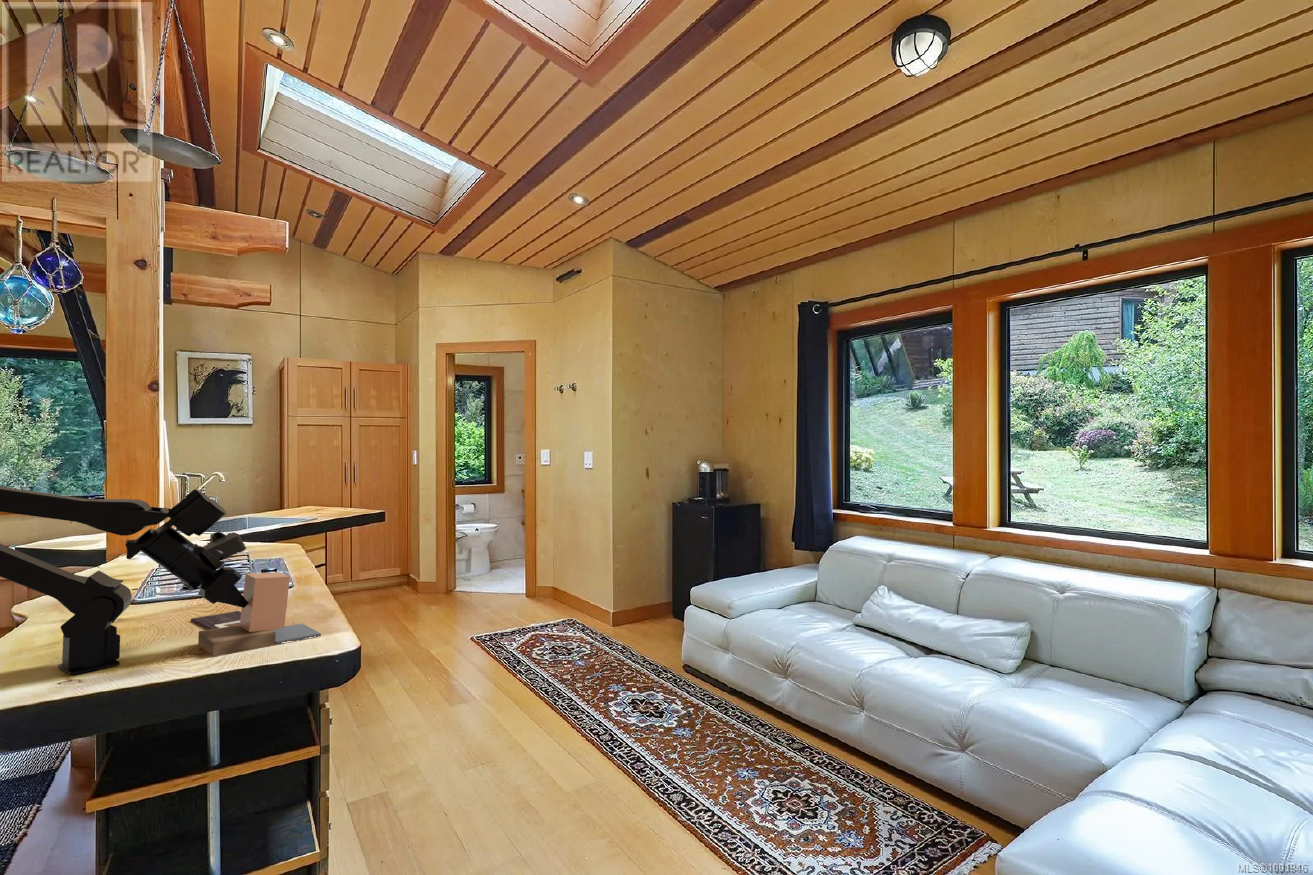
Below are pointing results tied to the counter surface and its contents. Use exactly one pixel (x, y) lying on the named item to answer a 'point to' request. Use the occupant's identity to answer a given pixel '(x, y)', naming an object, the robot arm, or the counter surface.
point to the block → (265, 601)
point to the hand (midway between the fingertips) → (246, 605)
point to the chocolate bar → (218, 620)
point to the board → (234, 640)
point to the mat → (294, 633)
